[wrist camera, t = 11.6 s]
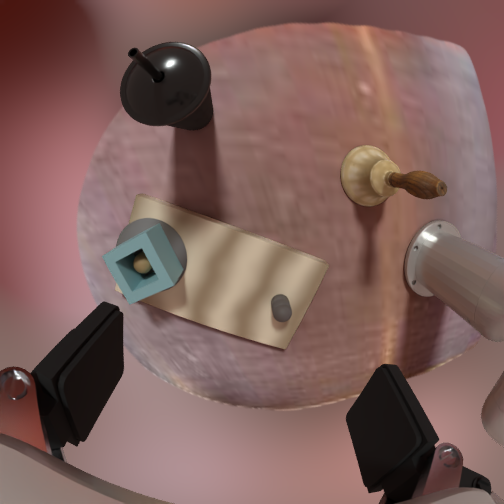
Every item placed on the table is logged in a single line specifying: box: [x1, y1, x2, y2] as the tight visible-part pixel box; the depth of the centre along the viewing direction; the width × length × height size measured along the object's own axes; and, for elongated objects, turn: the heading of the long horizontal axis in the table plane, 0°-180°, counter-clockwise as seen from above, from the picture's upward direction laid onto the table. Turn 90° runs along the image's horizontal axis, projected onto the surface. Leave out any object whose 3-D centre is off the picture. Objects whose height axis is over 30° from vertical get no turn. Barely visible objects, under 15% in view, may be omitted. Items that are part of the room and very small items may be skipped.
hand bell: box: [341, 145, 447, 206], centre depth 26 cm, size 8×8×16 cm
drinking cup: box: [120, 42, 213, 130], centre depth 21 cm, size 8×8×20 cm
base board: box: [115, 194, 329, 349], centre depth 34 cm, size 27×14×6 cm, turn 69°
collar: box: [102, 223, 184, 304], centre depth 31 cm, size 7×7×5 cm
